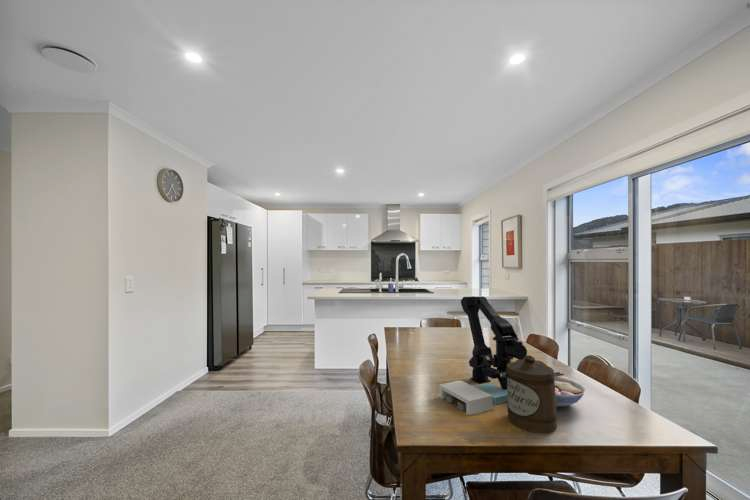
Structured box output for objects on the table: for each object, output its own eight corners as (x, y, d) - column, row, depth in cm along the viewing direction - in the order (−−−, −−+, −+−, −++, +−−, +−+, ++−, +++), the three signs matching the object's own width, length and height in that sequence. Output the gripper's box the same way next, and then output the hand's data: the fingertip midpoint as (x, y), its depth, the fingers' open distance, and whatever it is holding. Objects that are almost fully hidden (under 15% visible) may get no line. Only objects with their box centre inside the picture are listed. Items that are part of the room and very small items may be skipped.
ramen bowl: (548, 421, 105) (547, 396, 106) (503, 394, 127) (503, 374, 128) (604, 412, 112) (603, 389, 112) (553, 388, 134) (552, 369, 134)
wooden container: (498, 415, 109) (497, 352, 110) (530, 409, 114) (528, 348, 116) (533, 437, 95) (531, 364, 97) (567, 428, 100) (565, 359, 102)
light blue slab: (490, 389, 133) (490, 383, 133) (513, 400, 122) (513, 393, 122) (472, 393, 129) (472, 387, 129) (495, 404, 118) (494, 398, 118)
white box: (460, 392, 129) (460, 380, 130) (492, 409, 114) (492, 395, 114) (439, 397, 125) (439, 384, 125) (469, 415, 109) (469, 400, 109)
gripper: (503, 346, 141) (504, 381, 140) (472, 351, 132) (473, 388, 131) (525, 352, 131) (526, 390, 130) (492, 357, 122) (493, 398, 121)
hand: (504, 391), depth 128 cm, fingers closed
